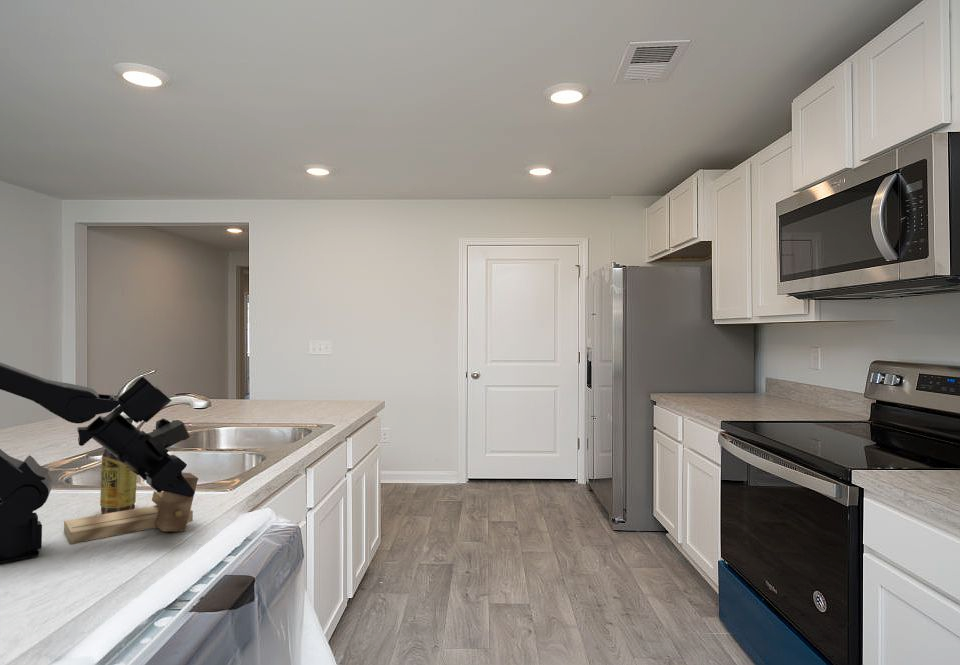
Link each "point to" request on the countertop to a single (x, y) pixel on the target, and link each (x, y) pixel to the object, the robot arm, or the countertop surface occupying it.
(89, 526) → the board
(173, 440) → the robot arm
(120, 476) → the sauce bottle
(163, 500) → the gauge
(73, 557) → the countertop surface
